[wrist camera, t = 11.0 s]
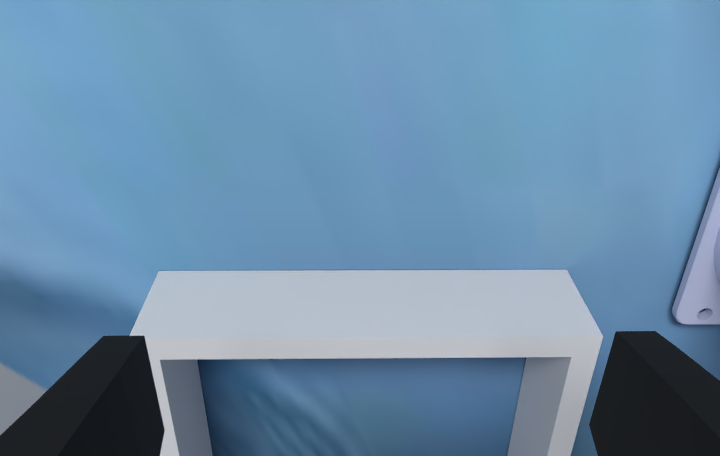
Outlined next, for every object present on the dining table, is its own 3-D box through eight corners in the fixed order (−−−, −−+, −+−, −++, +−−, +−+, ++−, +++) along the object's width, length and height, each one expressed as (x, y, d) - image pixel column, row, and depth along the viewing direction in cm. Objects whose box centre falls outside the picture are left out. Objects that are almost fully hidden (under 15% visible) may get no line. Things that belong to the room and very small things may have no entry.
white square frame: (566, 269, 21) (602, 336, 18) (511, 520, 28) (531, 598, 25) (159, 270, 21) (127, 339, 18) (206, 524, 28) (189, 603, 25)
